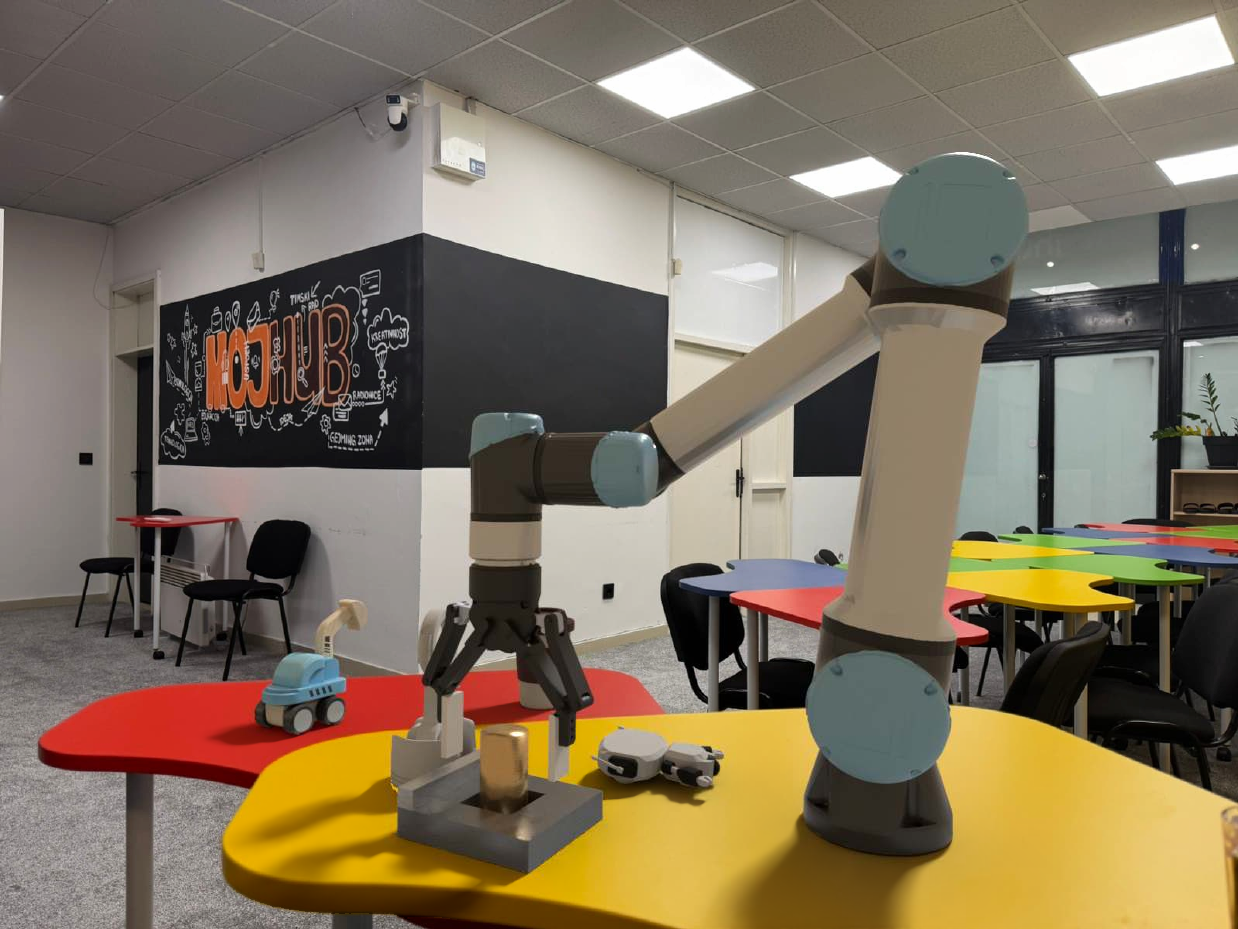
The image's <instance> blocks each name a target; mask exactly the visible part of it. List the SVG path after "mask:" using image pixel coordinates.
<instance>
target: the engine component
mask: <svg viewBox="0 0 1238 929" xmlns="http://www.w3.org/2000/svg"><path fill="white" fill-rule="evenodd" d="M446 608H447V607H444V608H442V607H433V608H432V609H430V610H429V611H428V612H426V613H427V614H425V616H424V617H423V620H422V622H421V625H420V629H419V633H418V639H417V640H418V642H417V664H419V665H420V668H421V670H422V673H424V672H425V670H426V667H427V665H428V662H429V660H430V658H431V655H432V653H433V651H434V648H435V646H436V643H437V641H438V635H439V634H438V632H439V631H440V630H441V631H442V629H443V627H444V624H445V616H446ZM458 648H459V647H458ZM458 648H457V651H456V653H455V655H454V658H453V660H452V662H453V661H454V659H455V658H456V657H457V655H458V654H459V652H458V650H459V649H458ZM452 662H451V663H452ZM423 696H424V697H423V716H421V717H419V718H418V717H417V719H416V720H415V722H414V725H413V726H412V727H411V728H409V730H408V731H407V735H406V737H405V738H404V737H401V736H399V735H396V734H392V735H391V749H390V750H391V751H390V784H391V783H392V784H393V786H394V787H396V788H398V787H399V786H401V785H403V784H405V783H407V782H409V781H412V780H414V779H416V778H418V777H420V776H422V775H425V774H427V773H429V772H431V771H433V770H435V769H437V768H440V767H442V766H444V765H446V764H448V763H450V762H453V761H455V760H457V759H459V758H461V757H463V756H466V755H468V754H470V753H472V752H474V751H476V750H478V749H477V741H476V724H475V722H474V720H472V719H470V718H467V717H463V751H462V752H460V753H458V754H456V755H453V756H451V757H449V758H447V759H446V758H442V757H441V723H438V720H437V693H436V692H435V690H434V689H433V688H431V687H430V686H424V695H423ZM391 780H392V781H391Z"/></svg>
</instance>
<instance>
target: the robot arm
mask: <svg viewBox="0 0 1238 929" xmlns="http://www.w3.org/2000/svg"><path fill="white" fill-rule="evenodd" d="M1028 202H1029V201H1028V198H1027V194H1026V193H1025V189H1024V188H1023V186H1022V184H1021V182H1020V181H1019V180H1018V178H1017V177H1015V176H1014V174H1013V173H1012V172H1011V171H1010V170H1009V169H1008V168H1007V167H1006V166H1004V165H1003V164H1002V163H1000V162H998V161H996V160H994V159H992V158H990V157H988V156H984V155H981V154H976V153H970V152H951V153H949V152H948V153H944V154H940V155H937V156H932V157H930V158H927V159H925V160H923V161H921V162H919V163H917V164H916V165H914V166H913V167H911V168H910V169H909V170H907V171H906V172H905V173H904V174H903V175H902V176H900V177H899V179H898V180H896V182H895V183H894V185H893V186H892V187H891V189H890V191H889V193H888V194H887V196H886V197H885V200H884V203H883V204H882V206H881V207H880V211H879V214H878V219H877V228H876V229H877V234H878V245H877V251H876V252H875V253H874V254H873V255H872V256H871V257H870V258H869V259H868V260H867V261H865V262H863V264H861V265H860V266H859V267H857V268H856V269H854V270H853V271H852V272H850V273H849V274H847V275H846V276H845V279H844V283H843V288H842V289H841V290H840V291H839V292H837V293H836V294H834V295H833V296H831V297H830V298H829V299H827V300H826V301H824V302H822V303H821V304H820V305H818V306H816V307H815V308H813V309H811V311H809V312H807V313H806V314H804V315H803V316H801V317H800V318H799V319H797V320H796V321H794V322H793V323H791V324H790V325H788V326H787V327H785V328H783V329H782V330H781V331H779V332H778V333H777V334H775V335H773V336H772V337H771V338H768V339H767V340H766V341H765V342H763V343H761V344H760V345H758V346H757V347H756V348H753V349H752V350H751V351H750V352H748V353H746V354H745V355H743V356H742V357H740V358H739V359H738V360H736V361H734V362H733V363H731V364H730V365H728V366H727V367H726V368H724V369H722V370H721V371H720V372H718V373H717V374H715V375H714V376H713V377H710V378H709V379H708V380H707V381H704V382H703V383H702V384H700V385H699V386H697V387H696V388H695V389H693V390H692V391H690V392H688V393H686V394H685V395H684V396H683V397H681V398H680V399H678V400H676V401H675V402H673V403H672V404H670V405H669V406H667V407H666V408H665V409H663V410H661V411H659V413H657V414H656V415H654V416H652V418H651V419H649V420H648V421H646V422H644V423H643V424H641V425H639V426H638V427H636V428H634V429H633V430H632V431H631V432H629V431H621V430H612V431H607V432H606V431H604V432H603V431H599V432H590V431H589V432H564V433H563V432H560V433H559V432H558V433H556V432H550V431H545V428H544V421H543V419H542V417H541V416H540V415H538V414H533V413H526V412H525V413H524V412H489V413H482V414H479V415H478V416H476V417H475V418H474V420H473V422H472V426H471V427H472V428H471V439H470V451H469V452H470V453H469V454H468V459H469V461H470V462H469V463H470V465H469V466H470V468H469V469H470V471H469V472H470V474H469V475H470V477H469V478H470V514H469V528H468V529H469V532H468V536H469V537H468V540H469V541H468V556H469V558H470V559H472V560H474V562H473V563H471V565H470V566H468V567H469V568H468V597H469V599H471V600H472V601H471V605H470V604H469V603H468V601H466V600H465V601H459V602H454V603H453V602H452V603H449V604H447V605H446V607H445V608H446V616H445V624H444V627H443V629H442V630H441V631H440V634H439V636H438V638H437V641H436V646H435V648H434V651H433V653H432V655H431V658H430V660H429V662H428V665H427V667H426V670H425V672H423V675H422V677H421V684H422V685H423V687H425V686H430V687H431V688H433V689H434V690H435V692H436V693H437V720H438V723H441V757H442V758H446V759H447V758H449V757H451V756H453V755H456V754H458V753H460V752H462V751H463V718H464V691H462V690H459V689H460V688H461V685H460V684H461V683H462V682H463V681H464V679H465V678H466V676H467V675H468V674H469V673H470V671H471V670H472V669H473V667H474V666H475V665H476V663H477V662H478V661H479V659H480V658H481V657H482V656H483V654H484V653H485V651H490V652H495V651H500V652H503V653H505V654H514V653H515V655H516V654H517V655H518V657H519V658H520V659H521V660H524V661H525V663H526V664H527V666H528V667H529V669H530V671H531V672H532V674H533V675H534V677H535V679H536V680H537V682H538V683H539V685H540V687H541V688H542V690H543V691H544V693H545V695H546V696H547V698H548V699H549V701H550V703H551V704H552V706H553V707H554V708H553V709H554V710H555V711H554V712H552V713H550V714H548V745H547V746H548V748H547V752H548V753H547V755H548V756H547V760H548V762H547V763H548V764H547V767H548V768H547V779H548V781H553V782H555V781H560V779H562V778H564V777H565V776H566V775H568V774H570V746H573V745H574V744H575V742H576V740H577V733H576V732H577V729H576V728H577V713H578V712H580V711H582V710H584V709H586V708H589V707H591V706H593V704H594V701H595V698H594V695H593V692H592V689H591V688H590V685H589V682H588V680H587V678H586V675H585V672H584V670H583V667H582V665H581V663H580V659H579V657H578V654H577V652H576V649H575V647H574V644H573V642H572V640H571V636H570V637H569V634H568V626H567V617H568V616H566V615H567V613H565V612H566V611H565V610H564V611H565V612H564V611H559V612H555V613H551V614H541V612H540V609H539V607H540V606H539V602H540V599H541V597H542V571H543V570H542V568H543V567H542V566H541V564H540V563H539V562H536V560H537V559H540V558H541V556H542V543H543V542H542V538H543V537H542V536H543V535H542V532H543V531H542V530H543V529H542V528H543V527H542V526H543V525H542V524H543V506H571V507H572V506H573V507H575V506H576V507H600V508H601V507H602V508H603V507H605V508H611V509H617V510H618V509H624V508H625V509H626V508H636V507H644V506H647V505H649V504H650V503H651V502H652V501H653V500H655V499H656V498H658V497H661V495H663V494H664V493H665V492H666V491H667V489H668V488H669V487H670V486H671V485H672V484H673V483H676V481H678V480H680V479H681V478H682V477H684V476H685V475H686V474H688V473H689V472H691V471H692V470H694V469H697V467H698V466H701V465H702V464H703V463H705V462H707V461H708V460H710V459H711V458H713V457H714V456H716V455H717V454H719V453H720V452H722V451H724V450H725V449H727V448H729V447H730V446H731V445H733V444H735V443H736V442H739V441H740V440H741V439H743V438H744V437H746V436H747V435H749V434H751V433H752V432H753V431H755V430H756V429H758V428H760V427H761V426H763V425H765V424H766V423H767V422H770V421H771V420H772V419H774V418H776V417H777V416H779V415H781V414H782V413H783V412H785V411H787V410H788V409H790V408H791V407H792V406H794V405H796V404H798V403H799V402H800V401H802V400H803V399H805V398H807V397H809V396H810V395H811V394H814V393H816V391H818V390H820V389H821V388H822V387H824V386H826V385H827V384H829V383H831V382H832V381H834V380H836V379H837V378H838V377H840V376H841V375H843V374H844V373H846V372H847V371H849V370H852V368H854V367H856V366H857V365H859V364H860V363H862V362H863V361H865V360H866V359H868V358H869V357H871V356H874V354H876V353H878V352H879V356H878V361H877V362H878V363H877V368H876V374H875V375H876V376H875V382H874V388H873V393H872V394H873V395H872V401H871V402H872V403H871V408H870V415H869V422H868V429H867V434H866V440H865V448H864V454H863V460H862V469H861V475H860V482H859V487H858V488H859V489H858V494H857V495H858V496H857V501H856V507H855V508H856V509H855V514H854V521H853V527H852V533H851V540H850V547H849V554H848V559H847V560H848V562H847V567H846V573H845V574H846V575H845V581H844V585H843V586H844V588H843V592H842V593H841V594H840V595H839V596H838V597H837V598H835V599H833V600H832V601H830V603H828V604H827V605H825V606H824V608H823V612H822V614H821V624H820V626H819V628H818V629H819V630H818V631H819V638H818V644H817V645H818V646H817V650H816V657H815V664H814V671H813V677H812V680H811V683H810V684H809V686H808V687H807V688H808V689H807V691H806V697H805V715H806V717H807V723H808V726H809V727H808V728H809V730H810V731H809V732H810V734H811V736H812V738H813V740H814V743H815V745H816V746H817V748H818V752H817V755H816V758H815V759H814V760H815V762H814V764H813V767H812V769H811V773H810V774H809V778H808V781H807V784H806V787H805V790H804V793H803V810H802V812H803V813H802V814H803V820H804V822H805V824H806V825H807V827H808V828H809V829H810V830H812V831H813V832H814V833H815V834H816V835H818V836H820V837H821V838H823V839H826V840H827V841H830V842H831V843H835V844H837V845H840V846H842V847H846V848H848V849H853V850H856V851H860V852H865V853H866V852H867V853H870V854H871V853H873V854H879V855H887V856H889V855H890V856H913V855H914V856H915V855H922V854H928V853H932V852H936V851H938V850H941V849H943V848H945V847H946V846H947V845H950V844H949V843H951V841H952V840H953V837H954V825H953V824H954V815H953V811H952V806H951V803H950V800H949V797H948V793H947V791H946V788H945V785H944V780H943V779H942V775H941V772H940V769H939V766H938V763H937V761H938V760H939V759H940V757H941V755H942V754H943V751H944V750H945V748H946V745H947V742H948V739H949V737H950V733H951V730H952V717H951V706H950V704H949V695H950V689H951V682H952V675H953V668H954V661H955V654H956V646H957V640H958V636H959V635H958V632H957V630H956V629H955V628H954V626H953V625H952V624H951V622H950V621H949V619H948V618H947V617H946V616H945V613H944V611H943V608H944V603H945V597H946V592H947V591H946V590H947V583H948V578H949V570H950V564H951V558H952V553H953V552H952V551H953V546H954V545H953V544H954V539H955V538H954V537H955V533H956V525H957V518H958V512H959V505H960V502H961V501H960V499H961V494H962V486H963V480H964V474H965V468H966V467H965V466H966V461H967V454H968V447H969V441H970V436H971V431H972V430H971V428H972V422H973V417H974V416H973V415H974V409H975V403H976V397H977V396H976V395H977V391H978V390H977V389H978V383H979V378H980V377H979V376H980V371H981V365H982V358H983V350H984V346H985V344H986V342H987V341H988V340H990V339H991V338H992V337H993V336H995V335H996V334H997V333H998V332H1000V331H1001V330H1003V328H1006V325H1007V320H1008V313H1009V308H1010V303H1011V302H1010V300H1011V295H1012V288H1013V284H1014V283H1013V282H1014V277H1015V269H1016V264H1017V260H1018V259H1017V257H1018V255H1019V254H1020V252H1021V250H1022V249H1023V248H1024V245H1025V243H1026V241H1027V238H1028V235H1029V230H1030V227H1029V226H1030V209H1029V203H1028ZM469 622H470V623H471V625H472V627H473V631H472V632H471V634H470V635H469V636H468V637H467V639H466V640H465V641H464V646H463V647H462V649H461V650H460V652H458V654H457V655H456V658H455V659H454V661H453V662H452V660H453V658H454V655H455V653H456V651H457V648H459V646H460V643H461V641H462V639H463V636H464V634H465V631H466V628H467V626H468V624H469ZM539 627H541V632H542V633H544V634H545V637H546V641H547V644H548V647H549V650H550V652H551V655H552V657H553V660H554V663H555V665H556V666H555V665H554V663H553V661H552V660H551V658H550V657H549V655H548V654H547V652H546V650H545V644H544V642H543V641H542V639H541V638H540V636H539V635H538V633H537V630H538V629H539ZM528 644H530V645H531V646H528ZM451 662H452V663H451ZM457 689H458V690H457Z"/></svg>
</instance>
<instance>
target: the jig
mask: <svg viewBox="0 0 1238 929" xmlns="http://www.w3.org/2000/svg"><path fill="white" fill-rule="evenodd" d="M603 794H604V791H603V790H602V789H601V790H600V789H598V788H592V787H587V786H583V785H579V784H578V785H577V784H573V783H569V782H565V781H564V782H563V781H560V780H557V781H555V782H553V781H548V778H546V777H543V776H542V777H541V776H537V775H531V774H528V805H527V806H525V807H524V808H522V809H520V810H519V811H517V812H515V813H514V814H512V815H505V814H501V813H497V812H493V811H489V810H485V809H481V808H479V798H480V748H478V749H477V750H476V751H474V752H472V753H470V754H468V755H466V756H463V757H461V758H459V759H457V760H455V761H453V762H450V763H448V764H446V765H444V766H442V767H440V768H437V769H435V770H433V771H431V772H429V773H427V774H425V775H422V776H420V777H418V778H416V779H414V780H412V781H409V782H407V783H405V784H403V785H401V786H399V787H398V793H397V813H396V814H397V816H396V817H397V818H396V819H397V820H396V823H397V824H396V832H397V833H396V836H397V838H401V839H405V840H408V841H412V842H414V843H415V842H416V843H419V844H422V845H426V846H429V847H433V848H436V849H440V850H443V851H447V852H451V853H454V854H458V855H461V856H465V857H467V858H468V857H469V858H472V859H475V860H479V861H483V862H485V863H486V862H487V863H490V864H492V865H495V866H500V867H503V868H507V869H510V870H515V871H518V872H522V873H525V874H530V873H531V872H533V871H534V870H535V869H537V868H538V867H539V866H541V865H542V864H544V862H546V861H548V860H549V859H550V858H552V857H553V856H554V855H556V854H557V853H558V852H560V851H561V850H562V849H564V848H565V847H567V846H568V845H569V844H571V843H572V842H573V841H575V840H576V839H577V838H579V837H580V836H581V835H583V834H584V833H585V832H587V831H588V830H590V828H592V827H594V826H595V825H596V824H597V823H599V822H600V821H601V820H603V817H604V816H603V808H604V806H603V802H604V799H603V798H604V795H603Z"/></svg>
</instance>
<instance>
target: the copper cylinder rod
mask: <svg viewBox="0 0 1238 929" xmlns="http://www.w3.org/2000/svg"><path fill="white" fill-rule="evenodd" d="M529 731H530V730H529V728H528V727H526V726H524V725H520V724H515V723H499V724H492V725H488V726H486V727H483V728H481V730H480V732H479V733H480V735H479V736H480V738H479V749H480V798H479V808H481V809H485V810H489V811H493V812H497V813H501V814H505V815H512V814H514V813H515V812H517V811H519V810H520V809H522V808H524V807H525V806H527V805H528V775H529V740H530V739H529V738H530V737H529Z"/></svg>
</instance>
